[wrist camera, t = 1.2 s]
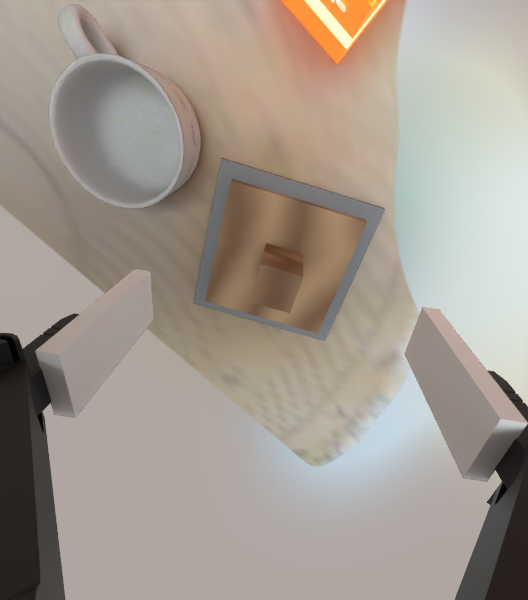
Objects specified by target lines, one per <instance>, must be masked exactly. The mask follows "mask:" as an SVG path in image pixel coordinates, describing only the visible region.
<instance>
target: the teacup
mask: <svg viewBox="0 0 528 600" xmlns="http://www.w3.org/2000/svg"><path fill="white" fill-rule="evenodd" d="M58 23H59V27H60V30H61V33H62V35H63V37H64V40H65V42H66V43H67V45H68V46H69V48H70V50H71V51H72V52H73V54H74V55H75V56H76V58H77V60H75V61H74V62H72V63H71V64H70V65H69V66H67V67H66V68H65V70H64V71H63V72H62V73H61V75H60V76H59V77H58V79H57V80H56V82H55V84H54V87H53V90H52V93H51V98H50V104H49V120H50V128H51V132H52V136H53V140H54V144H55V146H56V149H57V151H58V154H59V156H60V157H61V159H62V161H63V163H64V165H65V167H66V168H67V169H68V171H69V172H70V174H71V175H72V176H73V177H74V179H75V180H76V181H77V182H78V183H79V184H80V185H81V186H82V187H83V188H84V189H85V190H87V191H88V192H89V193H90V194H92V195H93V196H95V197H96V198H98V199H100V200H102V201H103V202H106V203H108V204H110V205H113V206H117V207H121V208H130V209H137V208H145V207H149V206H151V205H154V204H156V203H158V202H160V201H161V200H163V199H164V198H165V197H166V196H168V195H169V194H171V193H173V192H174V191H176V190H177V189H178V188H180V187H181V186H182V185H183V184H184V183H185V182H186V181H187V180H188V179H189V178H190V176H191V175H192V173H193V172H194V170H195V168H196V165H197V163H198V159H199V155H200V148H201V137H200V129H199V125H198V121H197V118H196V115H195V112H194V110H193V108H192V106H191V104H190V102H189V101H188V99H187V98H186V96H185V95H184V94H183V92H182V91H181V90H180V89H179V88H178V87H177V86H176V85H175V84H174V83H173V82H172V81H171V80H169V79H168V78H166V77H165V76H164V75H162V74H160V73H159V72H157V71H155V70H153V69H150V68H148V67H146V66H143V65H140V64H137V63H135V62H133V61H131V60H129V59H127V58H125V57H122V56H119V55H118V54H117V52H116V51H115V49H114V47H113V46H112V44H111V42H110V41H109V39H108V37H107V36H106V34H105V33H104V31H103V29H102V28H101V26H100V25H99V24H98V22H97V21H96V19H95V18H94V17H93V16H92V15H91V14H90V13H89V12H88V11H87V10H86V9H85V8H83V7H82V6H80V5H77V4H72V5H68V6H66V7H65V8H63V9H62V10H61V12H60V13H59V16H58Z"/></svg>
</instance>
